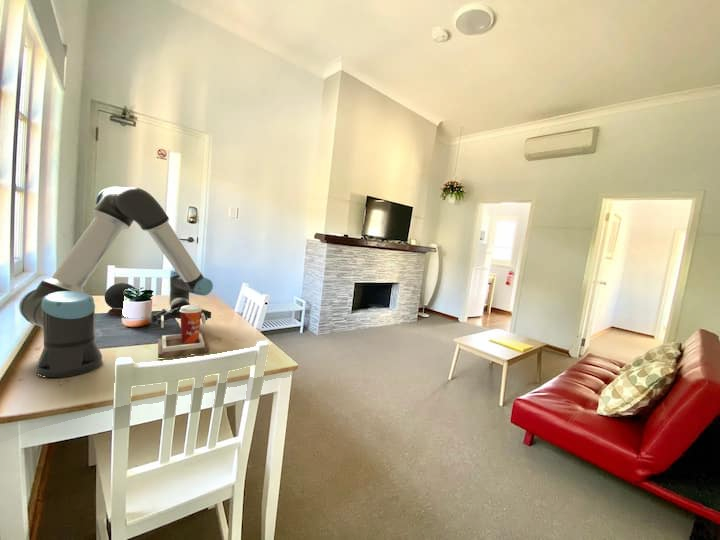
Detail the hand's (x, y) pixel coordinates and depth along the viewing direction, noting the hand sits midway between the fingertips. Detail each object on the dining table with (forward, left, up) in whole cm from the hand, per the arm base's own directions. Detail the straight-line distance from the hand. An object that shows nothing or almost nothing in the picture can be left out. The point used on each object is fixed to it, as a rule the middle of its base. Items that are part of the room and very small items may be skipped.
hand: (184, 322), depth 115 cm
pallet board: (0, +3, -11) cm, 11 cm away
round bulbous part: (-23, +60, -11) cm, 65 cm away
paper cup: (+2, +4, -9) cm, 10 cm away
